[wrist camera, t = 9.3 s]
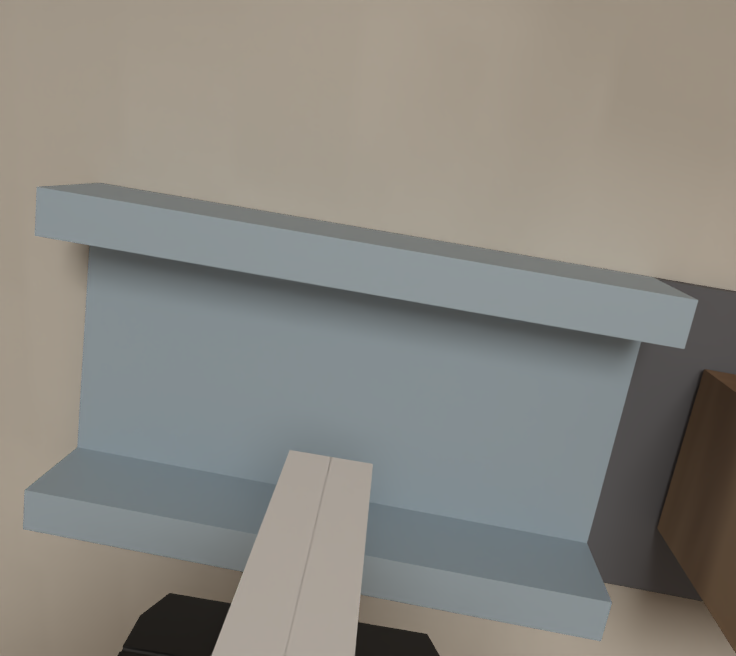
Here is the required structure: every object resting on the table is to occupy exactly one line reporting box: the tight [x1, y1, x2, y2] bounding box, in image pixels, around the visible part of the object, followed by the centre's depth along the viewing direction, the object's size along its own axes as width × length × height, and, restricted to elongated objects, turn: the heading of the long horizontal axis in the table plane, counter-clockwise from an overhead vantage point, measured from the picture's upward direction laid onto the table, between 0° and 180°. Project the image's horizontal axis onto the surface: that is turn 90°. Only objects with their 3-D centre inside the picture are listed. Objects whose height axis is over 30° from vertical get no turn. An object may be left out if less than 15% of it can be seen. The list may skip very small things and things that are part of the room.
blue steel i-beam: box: [23, 183, 698, 641], centre depth 19 cm, size 16×9×3 cm, turn 81°
